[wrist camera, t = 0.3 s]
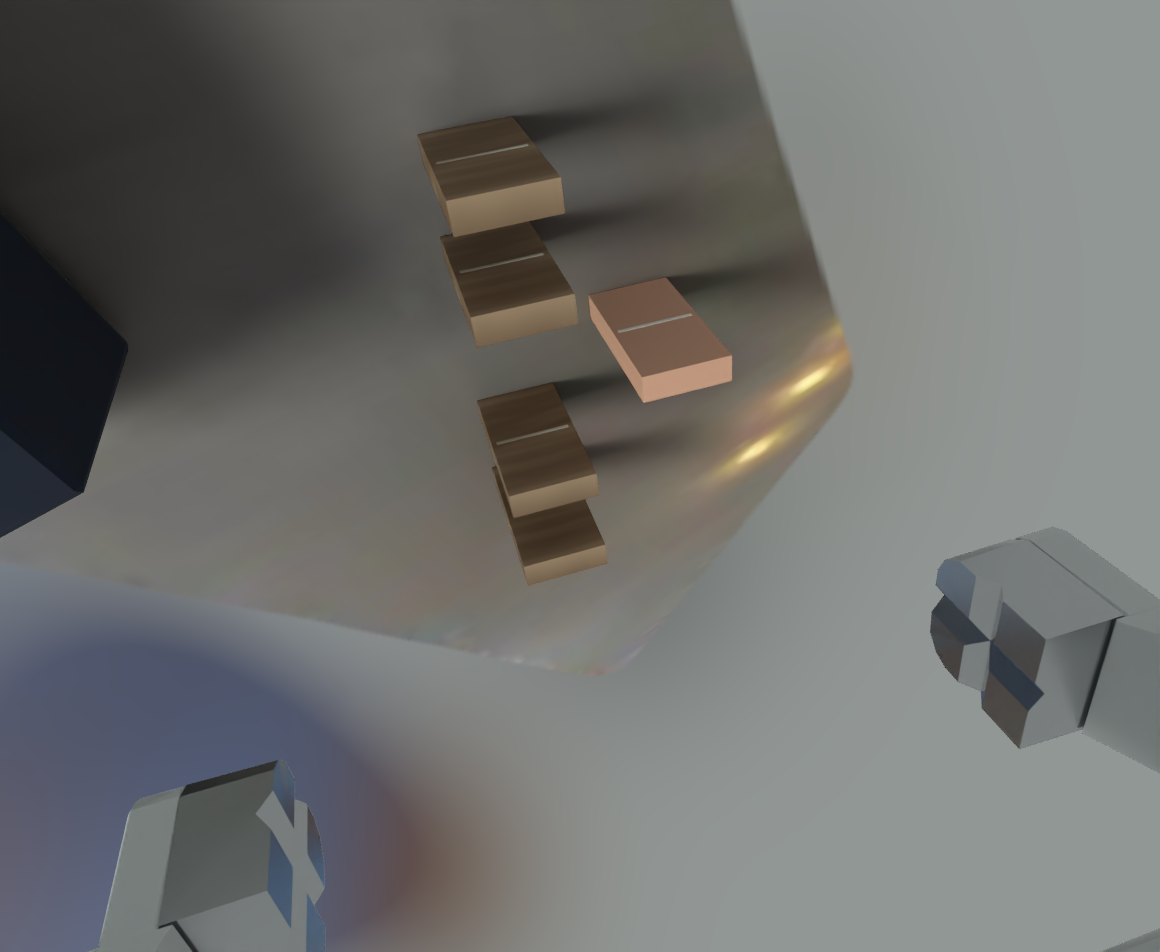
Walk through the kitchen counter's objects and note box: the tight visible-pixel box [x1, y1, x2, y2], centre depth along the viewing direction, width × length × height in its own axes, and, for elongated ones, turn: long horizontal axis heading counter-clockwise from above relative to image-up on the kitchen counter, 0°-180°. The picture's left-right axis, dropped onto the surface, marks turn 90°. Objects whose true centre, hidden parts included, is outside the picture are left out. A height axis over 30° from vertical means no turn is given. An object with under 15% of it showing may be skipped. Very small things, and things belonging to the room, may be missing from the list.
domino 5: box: [589, 277, 732, 403], centre depth 47 cm, size 2×5×10 cm, turn 96°
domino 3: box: [477, 382, 599, 518], centre depth 50 cm, size 2×5×10 cm, turn 96°
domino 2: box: [440, 221, 578, 348], centre depth 43 cm, size 2×5×10 cm, turn 96°
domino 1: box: [417, 116, 565, 237], centre depth 39 cm, size 2×5×10 cm, turn 96°
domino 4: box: [492, 466, 607, 585], centre depth 53 cm, size 2×5×10 cm, turn 96°
